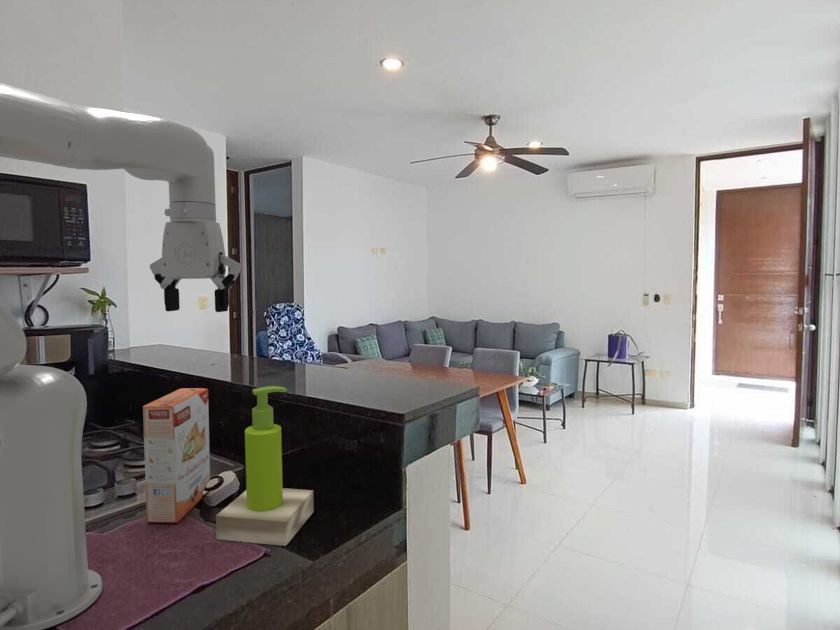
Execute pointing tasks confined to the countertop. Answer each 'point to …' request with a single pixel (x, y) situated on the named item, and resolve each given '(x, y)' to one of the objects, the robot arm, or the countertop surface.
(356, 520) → the countertop surface
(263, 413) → the soap dispenser
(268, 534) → the birch stand
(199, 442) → the cracker box
